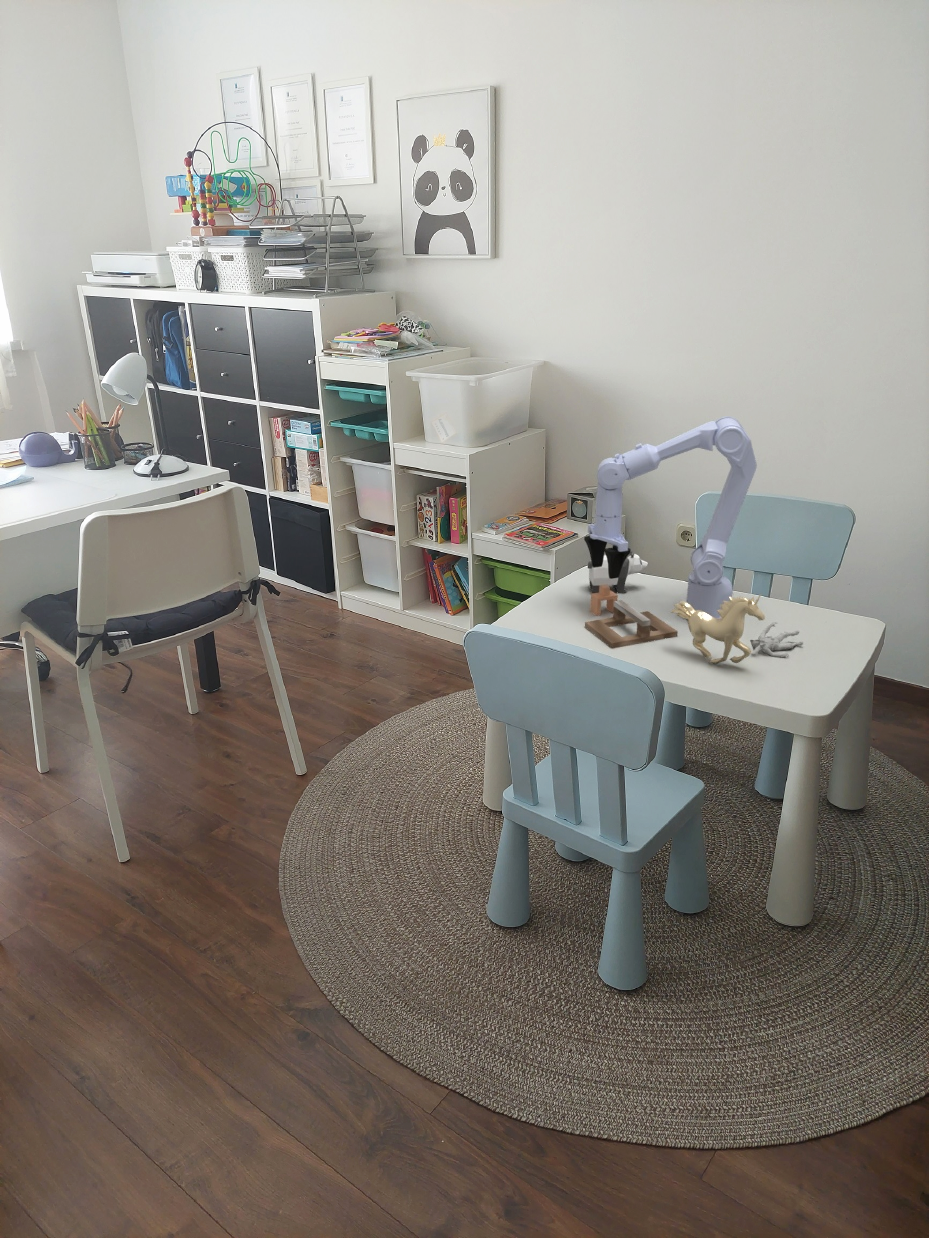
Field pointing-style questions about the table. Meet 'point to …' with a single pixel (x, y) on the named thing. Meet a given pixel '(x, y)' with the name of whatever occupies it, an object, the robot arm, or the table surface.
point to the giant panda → (602, 577)
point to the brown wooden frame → (625, 616)
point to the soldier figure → (774, 642)
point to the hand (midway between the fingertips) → (605, 572)
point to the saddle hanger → (602, 599)
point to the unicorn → (720, 625)
